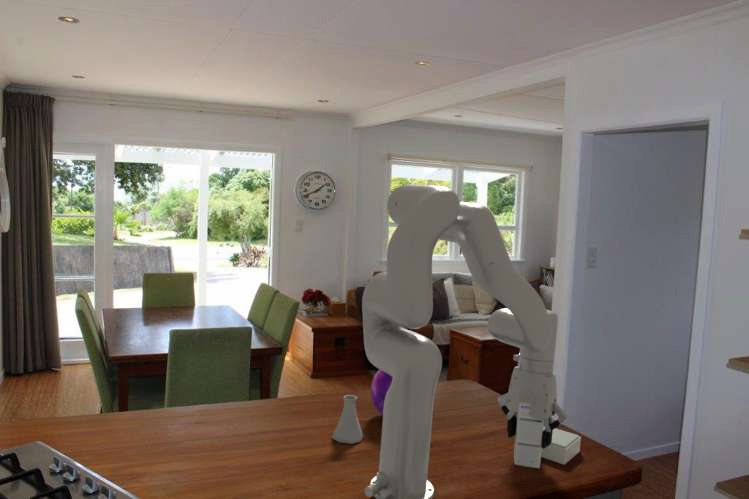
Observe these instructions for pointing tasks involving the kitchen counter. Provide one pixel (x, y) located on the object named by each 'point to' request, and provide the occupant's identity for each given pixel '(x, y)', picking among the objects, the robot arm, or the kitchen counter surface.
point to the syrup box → (528, 438)
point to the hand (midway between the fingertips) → (528, 440)
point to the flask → (348, 423)
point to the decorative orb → (380, 389)
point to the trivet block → (562, 446)
